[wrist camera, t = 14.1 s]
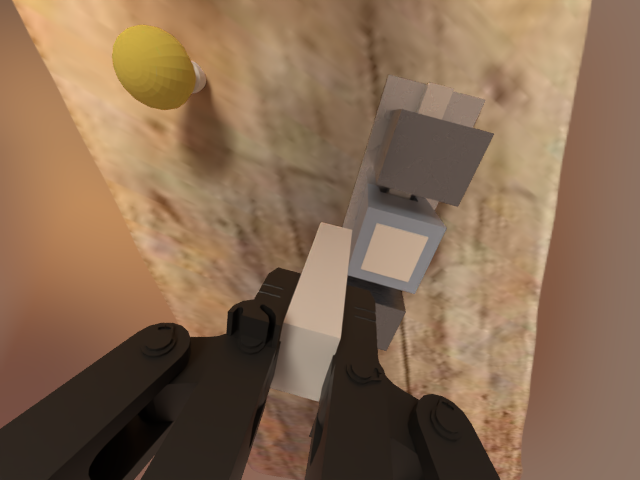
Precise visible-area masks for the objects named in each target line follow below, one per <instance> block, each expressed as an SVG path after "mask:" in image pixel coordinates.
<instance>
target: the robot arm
mask: <svg viewBox="0 0 640 480" xmlns="http://www.w3.org/2000/svg"><path fill="white" fill-rule="evenodd" d="M351 237H352V230H351V229H347V228H343V227H339V226H335V225H331V224H327V223H323V222H321V223H320V226H319V228H318V231H317V234H316V236H315V239H314V242H313V244H312V247H311V250H310V252H309V255H308V258H307V260H306V263H305V266H304V268H303V271H302V274H300V273H297V272H293V271H289V270H285V269H281V268H277V269H275V270H274V271H272V272H271V273H269V274H268V276H267V278H266V279H265V281H264V283H263V285H262V286H261V288H260V290H259V292H258V293H257V295H256V297H255V299H254V300H247V301H242V302H240V303H238V304H236V305H234V306H233V307H232V308H231V309H230V310H229V311H228V319H227V333H226V334H223V335H220V336H214V337H190V336H189V333H188V331H187V330H186V329H185V328H184V327H183V326H181V325H178V324H175V323H159V324H155V325H151V326H148V327H146V328H145V329H143V330H141V331H139V332H137V333H136V334H134V335H133V336H132V337H130V338H129V339H127V340H126V341H124V342H123V343H122V344H120V345H119V346H118V347H116V348H114V349H113V350H112V351H110V352H109V353H107V354H106V355H105V356H103V357H102V358H100V359H99V360H97V361H96V362H95V363H93V364H92V365H90V366H89V367H88V368H86V369H85V370H84V371H82V372H81V373H79V374H78V375H76V376H75V377H73V378H72V379H70V380H69V381H68V382H66V383H65V384H63V385H62V386H61V387H59V388H58V389H56V390H55V391H54V392H52V393H51V394H49V395H48V396H46V397H45V398H44V399H42V400H41V401H39V402H38V403H37V404H35V405H34V406H32V407H31V408H29V409H28V410H26V411H25V412H24V413H22V414H21V415H19V416H18V417H17V418H15V419H14V420H12V421H11V422H9V423H8V424H7V425H5V426H4V427H2V428H1V429H0V480H134V479H135V478H136V476H137V475H138V474H139V473H140V472H141V471H142V469H143V468H144V467H145V466H146V465H147V463H148V462H149V461H150V460H151V459H152V458H153V456H154V455H155V454H156V455H155V456H154V458H153V460H152V461H151V463H150V465H149V466H148V468H147V470H146V471H145V473H144V475H143V476H142V478H141V480H241V478H242V475H243V472H244V469H245V466H246V463H247V460H248V457H249V454H250V451H251V448H252V445H253V442H254V439H255V436H256V433H257V430H258V427H259V424H260V421H261V417H262V414H263V411H264V408H265V403H266V398H267V395H268V392H269V389H270V388H272V389H276V390H279V391H283V392H286V393H290V394H293V395H297V396H300V397H304V398H307V399H311V400H315V401H318V402H319V399H320V403H319V409H318V413H317V416H316V419H315V421H314V424H313V427H312V430H311V432H310V435H309V437H312V439H311V445H310V451H309V457H308V463H307V469H306V476H305V480H500V478H499V476H498V474H497V472H496V470H495V468H494V466H493V464H492V462H491V461H490V459H489V457H488V455H487V453H486V451H485V449H484V447H483V445H482V443H481V441H480V439H479V438H478V436H477V434H476V432H475V430H474V428H473V426H472V424H471V423H470V421H469V420H468V418H467V417H466V415H465V414H464V412H463V411H462V410H461V409H460V408H459V407H457V406H456V405H455V404H454V403H453V402H451V401H450V400H448V399H446V398H445V397H443V396H439V395H435V394H429V395H424V396H423V397H422V398H421V399H420V400H418V399H417V398H415V397H413V396H412V395H410V394H408V393H407V392H405V391H403V390H402V389H400V388H399V387H397V386H396V385H394V384H393V383H392V382H391V381H390V380H389V379H388V378H387V377H386V375H385V373H384V370H383V368H382V367H381V365H380V364H379V361H378V349H377V328H376V314H375V313H376V306H375V300H374V298H373V296H372V295H371V293H370V291H368V290H364V289H360V288H357V287H353V286H349V285H346V284H347V274H348V265H349V256H350V246H351Z"/></svg>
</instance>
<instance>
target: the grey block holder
mask: <svg viewBox="0 0 640 480" xmlns="http://www.w3.org/2000/svg"><path fill="white" fill-rule="evenodd" d="M453 91H454V88H450V87H446V86H442V85H439V84H435V83H431V82H429V83H427V84H423V83H419V82H416V81H412V80H408V79H404V78H400V77H397V76H393V75H388V77H387V81H386V84H385V87H384V91H383V94H382V97H381V101H380V104H379V107H378V110H377V114H376V117H375V120H374V124H373V127H372V130H371V134H370V137H369V140H368V143H367V147H366V150H365V153H364V157H363V160H362V163H361V167H360V170H359V173H358V176H357V180H356V183H355V186H354V190H353V193H352V196H351V200H350V203H349V206H348V209H347V213H346V216H345V219H344V223H343V226H342V227H343V228H347V229H351V230H352V231H353V228H354V225H355V222H356V219H357V215H358V212H359V209H360V206H361V203H362V200H363V196H364V193H365V190H366V187H367V184H372V185H375V186H379V189H380V192H383V193H387V194H390V195H394V196H398V197H401V198H405V199H409V200H414V197H415V196H416V197H420V198H424V199H427V201H428V202H429V203H430V205H431V206H432V208H433V209H434V211H435V209H436V207H437V205H438V203H439V202H443V203H446V204H450V205H454V206H457V207H458V206H459V204H460V202H461V200H462V198H463V196H464V194H465V192H466V190H467V188H468V186H469V184H470V182H471V180H472V178H473V176H474V174H475V172H476V170H477V168H478V166H479V164H480V162H481V160H482V158H483V156H484V153H485V151H486V149H487V147H488V145H489V143H490V141H491V139H492V137H493V135H494V134H493V133H490V132H486V131H482V130H478V129H475V128H473V126H474V124H475V122H476V120H477V118H478V115H479V113H480V111H481V109H482V107H483V105H484V102H485V100H484V99H480V98H476V97H472V96H469V95H465V94H461V93H457V92H453ZM346 285H349V286H353V287H357V288H360V289H364V290H368V291H370V293H371V295H372V296H373V298H374V300H375V306H376V313H375V314H376V328H377V348H378V349H381V350H384V351H387V349H388V347H389V345H390V342H391V340H392V338H393V336H394V334H395V332H396V330H397V328H398V326H399V324H400V322H401V320H402V318H403V316H404V314H405V312H406V311H405V306H404V301H403V296H402V291H401V290H399V289H395V288H392V287H388V286H384V285H381V284H377V283H374V282H370V281H367V280H363V279H360V278H356V277H353V276H349V275H347V284H346Z"/></svg>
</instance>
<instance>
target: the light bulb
mask: <svg viewBox="0 0 640 480" xmlns="http://www.w3.org/2000/svg"><path fill="white" fill-rule="evenodd" d="M112 60H113V67H114V69H115V72H116V75H117V77H118V79H119V81H120V82H121V84H122V85H123V87H124V88H125V89H126V90H127V91H128V92H129V93H130V94H131V95H132V96H133V97H134V98H135V99H136V100H138V101H140V102H141V103H143V104H145V105H147V106H149V107H152V108H156V109H161V110H169V109H175V108H178V107H180V106H181V105H183V104H184V103H185V102H186V101H187V99H188V98H189V96H190V95H191V93H198V92H199V91H201V89H203V88H204V86H205V85H206V76H205V73H204V72H203V70H202V69H201V67H200V66H199V65H198V64H197V63H195V62H194V61H191V60H190V58H189V56H188V55H187V53H186V51H185V49H184V47H183V46H182V45H181V44H180V43H179V42H178V40H177V39H176V38H175V37H174V36H172V35H170V34H169V33H167V32H165V31H164V30H162V29H160V28H157V27H153V26H148V25H137V26H133V27H129V28H127V29H126V30H125V31H123V32H122V33H121V34H120V35H119V36H118V37H117V39H116V41H115V43H114V45H113V53H112Z"/></svg>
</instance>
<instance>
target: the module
mask: <svg viewBox="0 0 640 480" xmlns="http://www.w3.org/2000/svg"><path fill="white" fill-rule="evenodd" d="M446 229H447V228H446V226H445V225H444V223H443V222H442V221H441V219H440V218H439V216H438V215H437V213H436V212H435V211H434V209H433V208H432V206H431V205H430V203H429V202H428V201H427V199H424V198H420V197H416V196H415V197H414V200H409V199H405V198H401V197H398V196H394V195H390V194H387V193H383V192H380V189H379V186H375V185H372V184H367V187H366V190H365V193H364V196H363V200H362V203H361V206H360V209H359V212H358V215H357V219H356V222H355V225H354V228H353V231H352V237H351V246H350V256H349V265H348V274H347V275H349V276H353V277H356V278H360V279H363V280H367V281H370V282H374V283H377V284H381V285H384V286H388V287H392V288H395V289H399V290H402V291H406V292H409V293H413V294H415V293H416V290H417V288H418V286H419V284H420V282H421V280H422V278H423V276H424V274H425V272H426V270H427V268H428V266H429V264H430V262H431V260H432V258H433V255H434V253H435V251H436V249H437V247H438V245H439V243H440V241H441V239H442V237H443V235H444V233H445V231H446Z"/></svg>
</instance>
